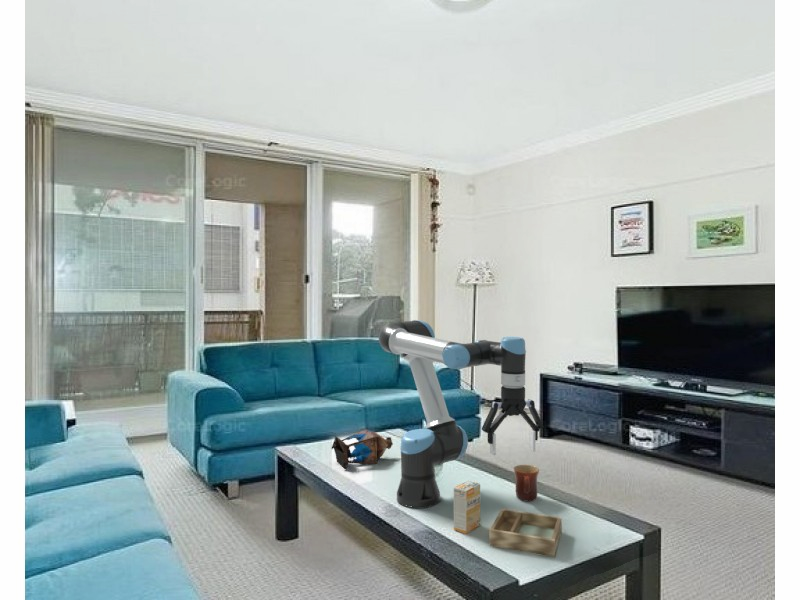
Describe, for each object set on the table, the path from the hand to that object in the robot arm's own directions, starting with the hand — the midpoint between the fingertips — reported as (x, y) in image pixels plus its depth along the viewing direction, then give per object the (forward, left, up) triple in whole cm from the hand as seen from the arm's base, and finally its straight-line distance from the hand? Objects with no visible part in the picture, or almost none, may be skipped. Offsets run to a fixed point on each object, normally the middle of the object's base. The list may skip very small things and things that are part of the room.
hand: (512, 452), depth 172 cm
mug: (+2, +15, -21) cm, 26 cm away
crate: (+7, -14, -21) cm, 26 cm away
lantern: (-70, +32, -21) cm, 80 cm away
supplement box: (-11, -13, -21) cm, 27 cm away
